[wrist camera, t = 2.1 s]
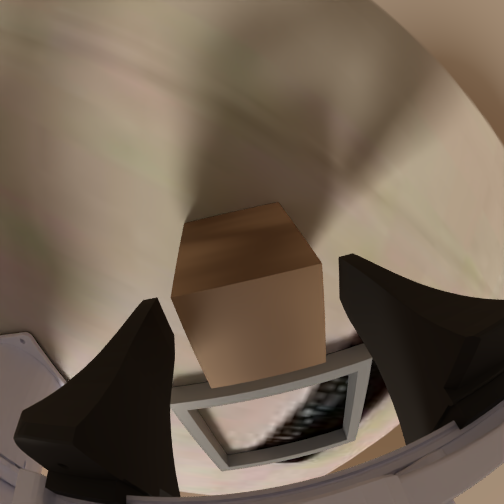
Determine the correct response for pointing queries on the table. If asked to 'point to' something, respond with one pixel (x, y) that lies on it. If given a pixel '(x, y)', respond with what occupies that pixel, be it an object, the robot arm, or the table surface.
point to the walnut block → (250, 295)
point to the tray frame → (336, 366)
